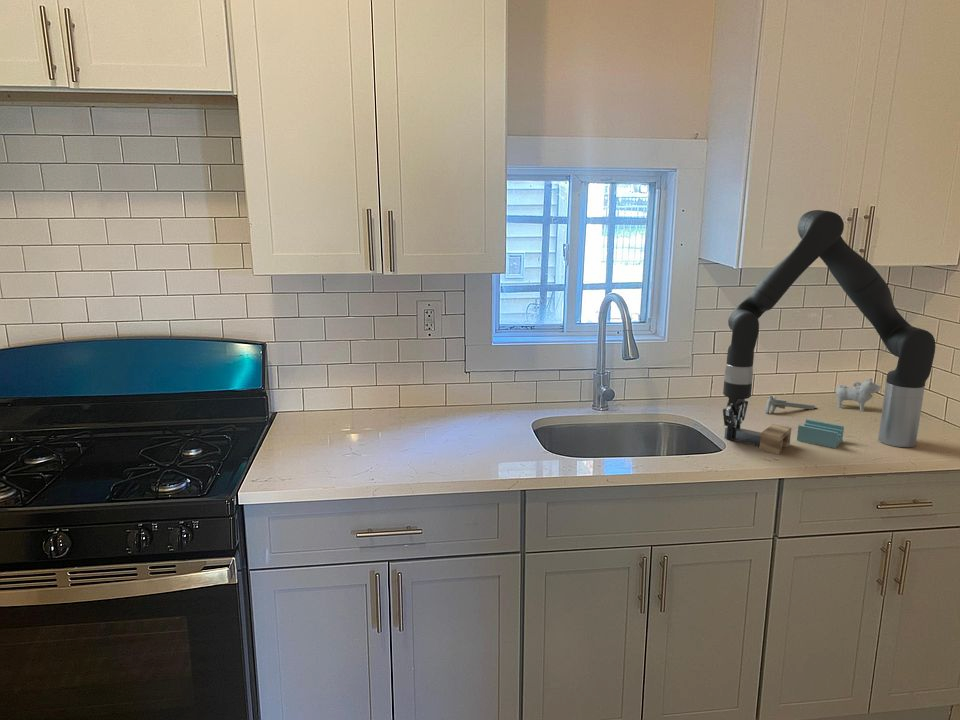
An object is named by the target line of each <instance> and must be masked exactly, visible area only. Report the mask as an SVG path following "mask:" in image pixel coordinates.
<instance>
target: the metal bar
mask: <svg viewBox="0 0 960 720" xmlns="http://www.w3.org/2000/svg"><path fill="white" fill-rule="evenodd" d="M761 432H762V431H761ZM761 432H760V431H755V430H751V429H748V428H747V429H746V428H741V427H740V428H737V427H736V433H735V439H734V440H733V441H736V442H739V443H740V442H741V443H745V444H748V443H749V445H753V444H754V446H757V445H758V446H759V447H760V438H761ZM723 438H724V439H727V427H725V428H724V437H723ZM727 440H728V439H727Z"/></svg>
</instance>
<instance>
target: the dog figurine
mask: <svg viewBox="0 0 960 720" xmlns="http://www.w3.org/2000/svg"><path fill="white" fill-rule="evenodd" d="M852 383H853V384H852V387H851V386H849V387H848V386H847V385H845V384H839V385H837V387H836V388H837V389H836V390H835V396H836V401H837V403H836V404H837V405H836V406H837V409H840V408H842V409H843V407H842V406H843V404H842V402H843V401H854V402H857V403H858V404H859V412H861V411H862V412H863V413H864V412H865V403H867V402H868V401H870V400H871V399H872V397H873V394H874V393H876V394H877V393H878V392H879V391H880V390H881V389H882V385H878V384H877V383H875V382H873V378H868V379H866V380H864V381H863V382H861V383H860V382H859V381H854V382H852ZM841 405H842V406H841Z"/></svg>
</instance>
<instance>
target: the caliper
mask: <svg viewBox="0 0 960 720" xmlns="http://www.w3.org/2000/svg"><path fill="white" fill-rule="evenodd" d="M776 397H777V396H775V395H769V398H767V401H766V403H765V411H764V412H765V414H768V415H769V414H771V413H773V414H774V413H775V411H776V410H777V408H779V409H783V410H784V409H786V407H788V408H797V409H802V410H803V409H804V410H805V409H806V410H815V409H814V408H818V407H817V406H816V405H814V404H808V403H801V402H800V403H799V402H792V401H791V402H790V401H787V400H785V399H780V398H779V399H777V398H776Z"/></svg>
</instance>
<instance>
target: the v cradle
mask: <svg viewBox="0 0 960 720" xmlns="http://www.w3.org/2000/svg"><path fill="white" fill-rule="evenodd" d="M844 430H845V426H844V425H840V424H835V423H829V422H825V421H820V420H819V421H818V420H814V419H809V418H806V419H805V423H804V425H803V424H799V425H798V427H797V436H796V441H797V440H799V441H798V442H802V441H803V443H807V442H808V443H807V444H812V443H813V445H816V444H819V445H818V446H821V445H824V446H823V447H826V446H828V447H827V448H831V447H832V449H836V448H837V447H838V446H839V445H840V444H841V443H842V442H843V438H844ZM841 441H842V442H841ZM840 442H841V443H840ZM839 443H840V444H839ZM838 444H839V445H838ZM837 445H838V446H837ZM836 446H837V447H836Z"/></svg>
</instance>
